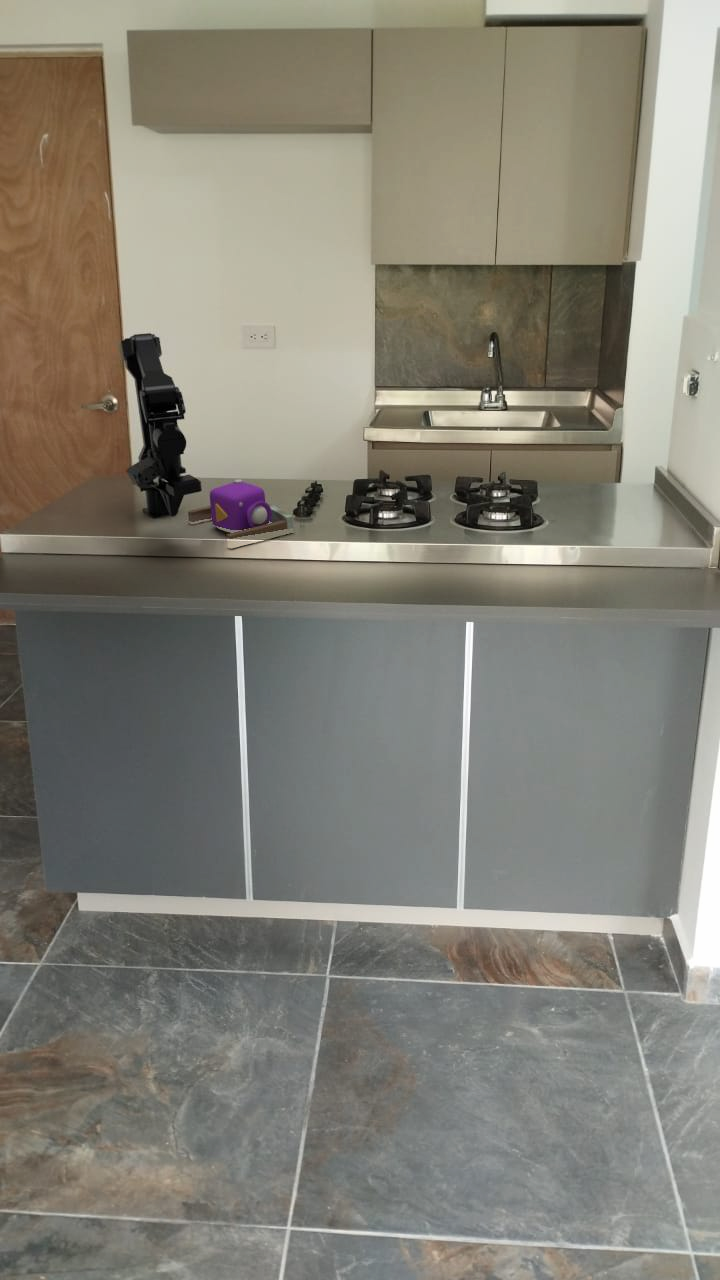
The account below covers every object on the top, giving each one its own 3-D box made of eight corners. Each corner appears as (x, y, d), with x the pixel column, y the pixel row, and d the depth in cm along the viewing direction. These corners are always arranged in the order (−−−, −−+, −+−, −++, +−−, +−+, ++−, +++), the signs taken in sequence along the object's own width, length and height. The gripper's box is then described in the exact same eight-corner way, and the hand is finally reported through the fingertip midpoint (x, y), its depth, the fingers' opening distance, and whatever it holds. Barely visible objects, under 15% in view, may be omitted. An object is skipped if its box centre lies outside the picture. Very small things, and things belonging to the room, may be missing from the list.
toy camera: (253, 543, 232) (250, 499, 227) (205, 532, 239) (201, 488, 234) (284, 527, 240) (281, 484, 235) (236, 517, 247) (233, 475, 242)
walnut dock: (189, 523, 244) (187, 506, 242) (249, 508, 251) (248, 492, 249) (230, 549, 229) (229, 532, 227) (293, 533, 236) (292, 516, 234)
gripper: (110, 441, 225) (120, 512, 232) (147, 462, 211) (156, 537, 218) (159, 431, 231) (167, 501, 238) (199, 451, 217) (206, 524, 224)
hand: (173, 515), depth 229 cm, fingers closed
